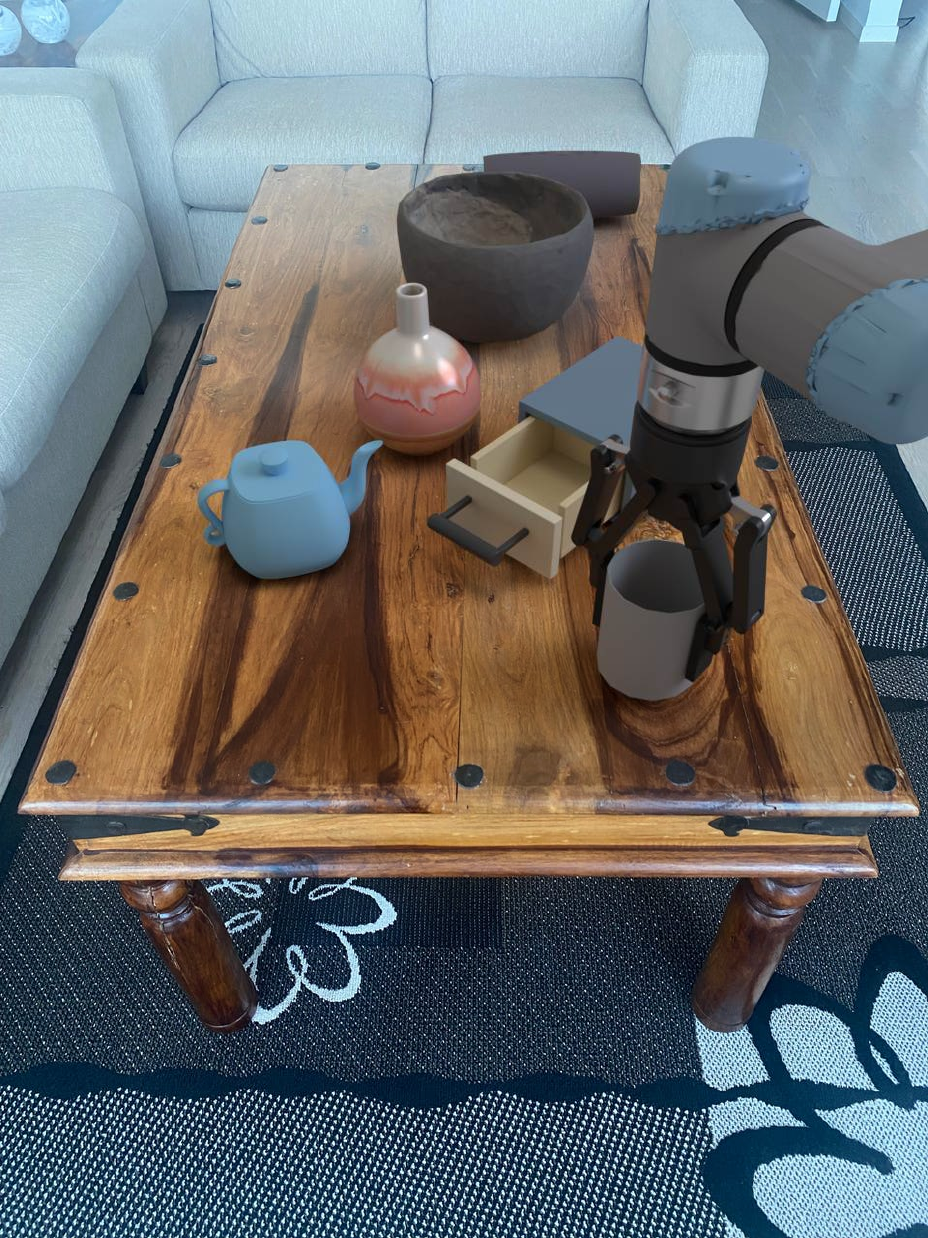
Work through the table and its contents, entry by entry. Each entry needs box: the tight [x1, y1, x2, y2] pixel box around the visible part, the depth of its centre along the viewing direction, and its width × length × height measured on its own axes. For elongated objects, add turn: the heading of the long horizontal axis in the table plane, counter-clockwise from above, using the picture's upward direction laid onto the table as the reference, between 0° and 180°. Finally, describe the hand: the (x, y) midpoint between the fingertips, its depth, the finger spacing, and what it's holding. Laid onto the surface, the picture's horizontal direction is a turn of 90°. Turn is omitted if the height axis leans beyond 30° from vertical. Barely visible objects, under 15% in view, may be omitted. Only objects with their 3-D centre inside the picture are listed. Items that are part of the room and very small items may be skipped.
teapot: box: [196, 439, 383, 580], centre depth 87 cm, size 13×11×18 cm
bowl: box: [396, 171, 595, 344], centre depth 115 cm, size 24×24×15 cm
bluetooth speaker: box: [482, 150, 642, 221], centre depth 137 cm, size 23×9×10 cm, turn 90°
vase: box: [352, 282, 482, 457], centre depth 96 cm, size 14×14×18 cm
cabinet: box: [517, 335, 643, 523], centre depth 96 cm, size 17×14×9 cm
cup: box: [596, 538, 707, 702], centre depth 74 cm, size 8×8×10 cm
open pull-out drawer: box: [426, 415, 627, 580], centre depth 89 cm, size 21×13×7 cm, turn 138°
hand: (650, 642), depth 76 cm, fingers closed on cup, 8 cm apart
